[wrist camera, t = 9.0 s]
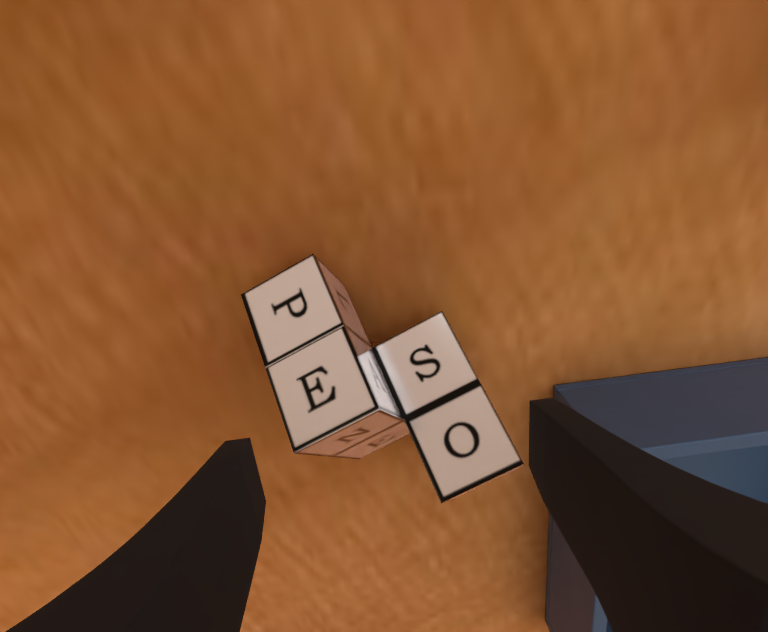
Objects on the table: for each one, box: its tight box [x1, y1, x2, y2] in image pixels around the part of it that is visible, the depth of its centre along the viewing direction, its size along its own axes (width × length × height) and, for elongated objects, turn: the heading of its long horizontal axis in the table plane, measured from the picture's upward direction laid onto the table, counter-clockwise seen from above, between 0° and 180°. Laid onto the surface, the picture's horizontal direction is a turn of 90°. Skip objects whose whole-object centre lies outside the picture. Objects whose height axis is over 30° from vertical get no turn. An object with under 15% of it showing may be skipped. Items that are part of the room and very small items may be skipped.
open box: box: [545, 357, 768, 632], centre depth 20 cm, size 14×12×4 cm
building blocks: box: [241, 254, 525, 503], centre depth 16 cm, size 5×5×8 cm
